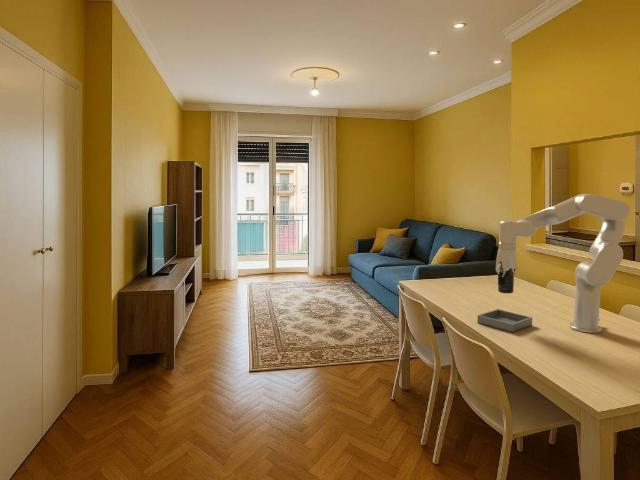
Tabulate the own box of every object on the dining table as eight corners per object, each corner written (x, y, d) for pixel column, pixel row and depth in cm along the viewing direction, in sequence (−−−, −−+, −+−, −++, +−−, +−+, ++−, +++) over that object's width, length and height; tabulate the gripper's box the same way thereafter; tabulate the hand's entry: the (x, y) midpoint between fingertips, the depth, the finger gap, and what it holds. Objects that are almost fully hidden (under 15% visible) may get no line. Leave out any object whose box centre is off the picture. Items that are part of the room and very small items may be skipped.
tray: (497, 316, 208) (497, 308, 207) (532, 325, 193) (532, 317, 193) (477, 323, 198) (477, 315, 198) (512, 333, 183) (512, 324, 183)
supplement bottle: (499, 289, 198) (500, 265, 197) (514, 291, 194) (515, 266, 193) (496, 292, 193) (497, 267, 192) (511, 294, 189) (512, 269, 188)
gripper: (509, 244, 199) (508, 279, 201) (489, 247, 189) (488, 284, 191) (524, 245, 193) (523, 282, 195) (504, 249, 183) (502, 287, 185)
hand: (505, 283), depth 193 cm, fingers closed on supplement bottle, 6 cm apart
